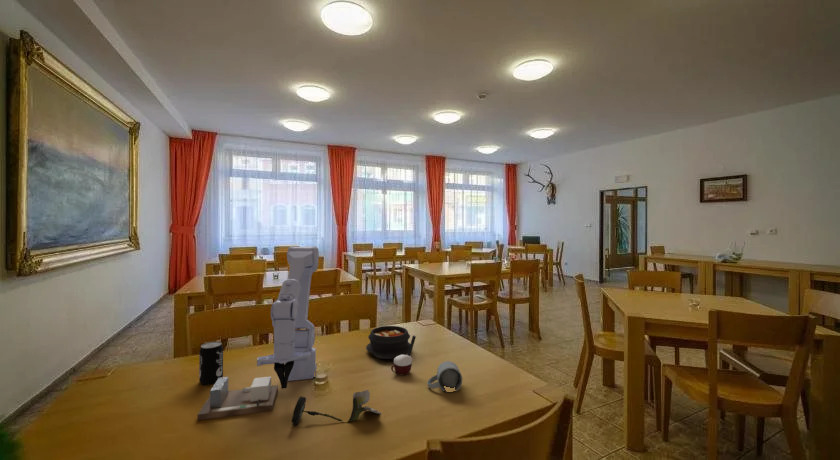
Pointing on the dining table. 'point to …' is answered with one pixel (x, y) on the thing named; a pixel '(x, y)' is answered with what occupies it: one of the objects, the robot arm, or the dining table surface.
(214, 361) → the beverage can
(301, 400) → the artificial flower
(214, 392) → the grey block
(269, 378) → the gauge carriage
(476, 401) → the dining table surface
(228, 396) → the base
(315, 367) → the robot arm
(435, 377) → the ceramic mug
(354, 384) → the dining table surface
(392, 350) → the casserole
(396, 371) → the cocoa
